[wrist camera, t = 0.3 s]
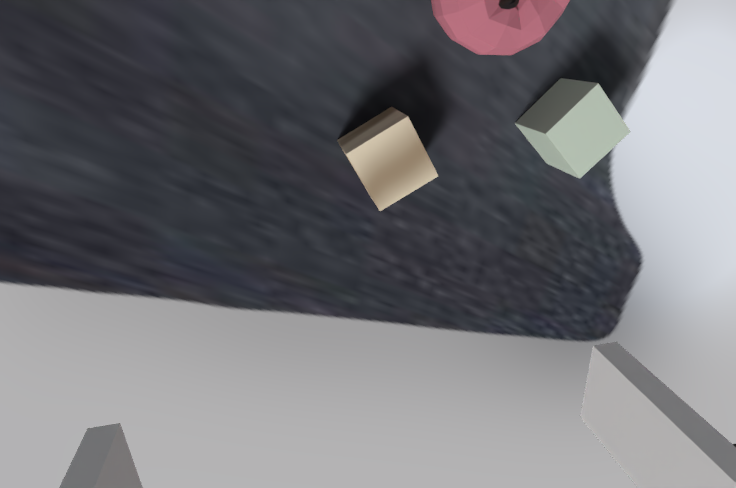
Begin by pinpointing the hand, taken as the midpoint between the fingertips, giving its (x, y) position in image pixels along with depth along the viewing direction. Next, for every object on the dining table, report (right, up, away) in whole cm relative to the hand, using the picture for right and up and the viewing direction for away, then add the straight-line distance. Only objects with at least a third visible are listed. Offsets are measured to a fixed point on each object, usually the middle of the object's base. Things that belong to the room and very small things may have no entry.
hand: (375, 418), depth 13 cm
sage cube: (+15, +15, +27) cm, 34 cm away
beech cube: (+1, +12, +25) cm, 28 cm away
